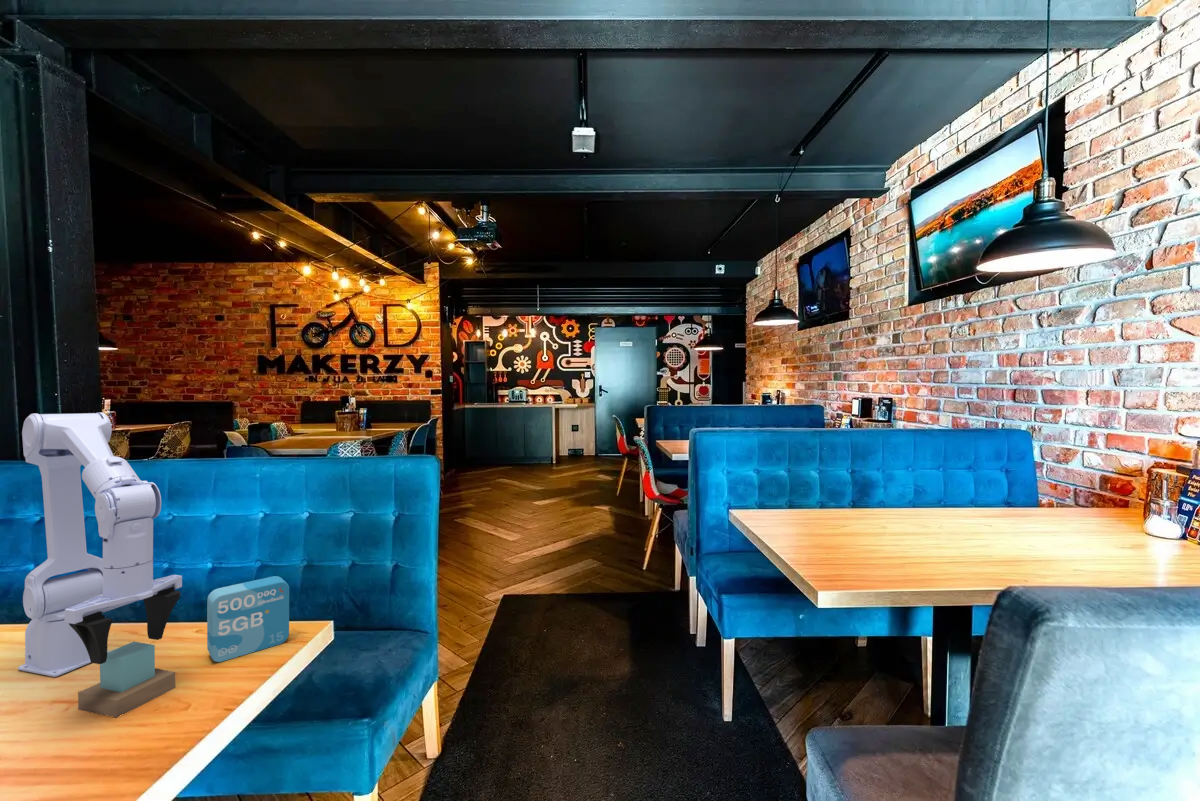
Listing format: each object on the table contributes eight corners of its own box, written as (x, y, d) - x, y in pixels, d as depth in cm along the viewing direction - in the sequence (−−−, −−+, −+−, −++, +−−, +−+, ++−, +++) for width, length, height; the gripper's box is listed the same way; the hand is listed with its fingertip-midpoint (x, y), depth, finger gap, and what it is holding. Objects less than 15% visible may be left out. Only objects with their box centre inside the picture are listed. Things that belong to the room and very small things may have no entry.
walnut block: (78, 712, 75) (78, 692, 75) (138, 683, 83) (139, 665, 83) (116, 721, 73) (116, 700, 73) (175, 690, 81) (175, 672, 81)
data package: (211, 665, 88) (211, 597, 88) (207, 656, 91) (207, 590, 91) (289, 641, 96) (289, 579, 96) (283, 634, 99) (283, 573, 99)
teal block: (100, 688, 76) (99, 655, 76) (134, 672, 81) (133, 641, 81) (121, 692, 75) (121, 659, 75) (154, 676, 80) (154, 644, 80)
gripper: (89, 581, 70) (89, 678, 70) (196, 551, 84) (195, 631, 84) (54, 577, 72) (53, 671, 72) (164, 547, 86) (164, 626, 86)
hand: (128, 649), depth 78 cm, fingers open, 7 cm apart
